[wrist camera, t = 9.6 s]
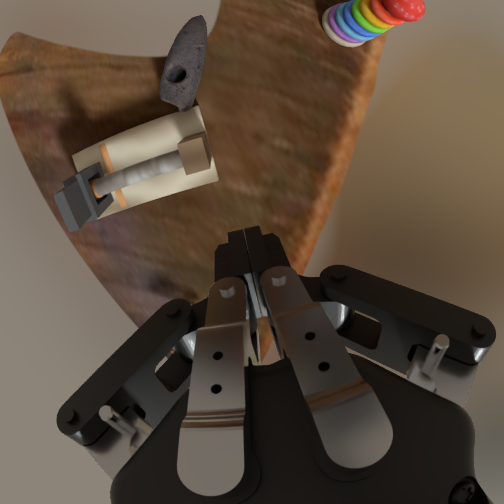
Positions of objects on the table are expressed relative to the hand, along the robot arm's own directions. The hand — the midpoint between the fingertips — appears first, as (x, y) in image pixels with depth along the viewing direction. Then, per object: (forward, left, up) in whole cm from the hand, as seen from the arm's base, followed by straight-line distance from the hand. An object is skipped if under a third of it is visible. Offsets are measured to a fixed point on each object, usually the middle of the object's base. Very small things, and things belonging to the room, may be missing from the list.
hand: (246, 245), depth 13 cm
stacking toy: (-17, +22, -31) cm, 42 cm away
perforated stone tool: (-15, -2, -31) cm, 34 cm away
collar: (-1, -20, -25) cm, 32 cm away
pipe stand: (-2, -14, -30) cm, 33 cm away
